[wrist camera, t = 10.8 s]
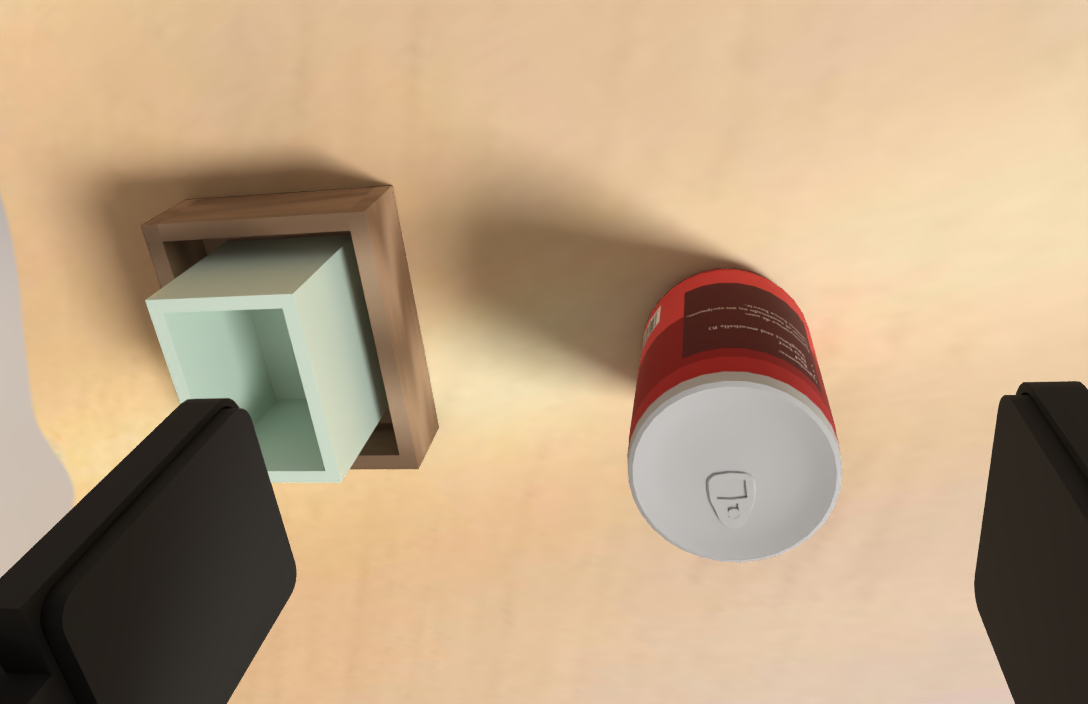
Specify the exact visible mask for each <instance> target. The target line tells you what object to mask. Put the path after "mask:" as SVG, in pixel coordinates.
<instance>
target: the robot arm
mask: <svg viewBox="0 0 1088 704" xmlns="http://www.w3.org/2000/svg"><path fill="white" fill-rule="evenodd" d="M295 582H296V565H295V561H294V557H293V554H292V551H291V548H290V544H289V541H288V538H287V534H286V531H285V528H284V524H283V521H282V518H281V514H280V511H279V508H278V505H277V501H276V498H275V495H274V491H273V488H272V485H271V481H270V478H269V475H268V471H267V468H266V465H265V462H264V458H263V455H262V452H261V448H260V445H259V442H258V438H257V435H256V432H255V429H254V425H253V422H252V419H251V417H250V414H249V413H248V412H247V411H246V410H245V409H243V408H239V406H238V405H237V404H236V402H235V401H234V400H232V399H230V398H206V399H187V400H186V401H184V402H182V403H181V404H180V405H179V406H178V407H177V408H176V409H175V410H174V411H173V412H172V413H171V414H170V415H169V416H168V417H167V418H166V419H165V420H164V421H163V422H162V423H161V424H160V425H158V426H157V427H156V428H155V429H154V430H153V431H152V432H151V433H150V434H149V435H148V436H147V437H146V438H145V439H144V440H143V441H142V442H141V443H140V444H139V445H138V446H137V447H136V448H135V449H134V450H133V451H132V452H131V453H129V454H128V455H127V456H126V457H125V458H124V459H123V460H122V461H121V462H120V463H119V464H118V465H117V466H116V467H115V468H114V469H113V470H112V471H111V472H110V473H109V474H108V475H107V476H106V477H105V478H104V479H103V480H102V481H101V482H99V483H98V484H97V485H96V486H95V487H94V488H93V489H92V490H91V491H90V492H89V493H88V494H87V495H86V496H85V497H84V498H83V499H82V500H81V501H80V502H79V503H78V504H77V505H76V506H75V507H74V508H73V509H72V510H70V511H69V512H68V513H67V514H66V515H65V516H64V517H63V518H62V519H61V520H60V521H59V522H58V523H57V524H56V525H55V526H54V527H53V528H52V529H51V530H50V531H49V532H48V533H47V534H46V535H45V536H44V537H43V538H42V539H41V540H39V541H38V542H37V543H36V544H35V545H34V546H33V548H31V549H30V550H29V551H28V552H27V553H26V554H25V555H24V556H23V557H22V558H21V559H20V560H19V561H18V562H17V563H16V564H15V565H14V566H13V567H12V568H11V569H9V570H8V571H7V572H6V573H5V574H4V575H3V576H2V577H1V578H0V704H227V702H228V701H229V699H230V697H231V696H232V694H233V692H234V690H235V689H236V687H237V685H238V684H239V682H240V680H241V679H242V677H243V675H244V673H245V672H246V670H247V668H248V667H249V665H250V663H251V662H252V660H253V658H254V657H255V655H256V653H257V651H258V650H259V648H260V646H261V645H262V643H263V641H264V640H265V638H266V636H267V635H268V633H269V631H270V629H271V628H272V626H273V624H274V623H275V621H276V619H277V618H278V616H279V614H280V612H281V611H282V609H283V607H284V606H285V604H286V602H287V601H288V599H289V597H290V596H291V594H292V592H293V589H294V586H295ZM974 587H975V598H976V603H977V607H978V610H979V613H980V616H981V618H982V621H983V623H984V626H985V629H986V631H987V634H988V636H989V639H990V641H991V644H992V646H993V649H994V651H995V654H996V656H997V659H998V661H999V664H1000V666H1001V669H1002V672H1003V674H1004V677H1005V679H1006V682H1007V684H1008V687H1009V689H1010V692H1011V694H1012V697H1013V699H1014V702H1015V704H1088V389H1087V388H1086V387H1085V386H1084V385H1083V384H1082V383H1081V382H1076V381H1068V382H1023V383H1022V384H1021V385H1020V386H1019V388H1018V390H1017V393H1016V395H1004V396H1003V397H1002V398H1001V400H1000V403H999V407H998V413H997V421H996V428H995V435H994V442H993V449H992V456H991V464H990V471H989V478H988V485H987V492H986V500H985V507H984V514H983V521H982V528H981V535H980V543H979V550H978V557H977V564H976V571H975V581H974Z"/></svg>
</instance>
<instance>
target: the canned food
mask: <svg viewBox="0 0 1088 704" xmlns="http://www.w3.org/2000/svg"><path fill="white" fill-rule="evenodd" d="M627 457H628V476H629V484H630V488H631V492H632V496H633V499H634V501H635V503H636V505H637V507H638V509H639V511H640V513H641V514H642V516H643V517H644V518H645V519H646V521H647V522H648V523H649V524H650V526H651V527H652V528H653V529H654V530H655V531H656V532H657V533H659V534H660V535H661V536H662V537H663V538H664V539H666V540H667V541H668V542H670V543H672V544H673V545H675V546H677V547H679V548H680V549H682V550H684V551H686V552H689V553H692V554H694V555H697V556H699V557H703V558H707V559H712V560H717V561H724V562H748V561H757V560H763V559H766V558H770V557H774V556H777V555H780V554H782V553H784V552H786V551H789V550H791V549H793V548H795V547H797V546H798V545H800V544H801V543H803V542H804V541H805V540H807V539H808V538H810V537H811V536H812V535H813V534H814V533H815V532H816V531H817V530H818V529H819V528H820V527H821V526H822V525H823V524H824V523H825V521H826V520H827V518H828V516H829V515H830V513H831V511H832V510H833V508H834V506H835V503H836V500H837V498H838V495H839V492H840V487H841V476H842V468H841V463H842V462H841V455H840V448H839V442H838V438H837V435H836V429H835V424H834V421H833V417H832V413H831V410H830V406H829V402H828V399H827V395H826V391H825V387H824V384H823V380H822V376H821V373H820V369H819V365H818V361H817V358H816V354H815V350H814V347H813V343H812V339H811V336H810V332H809V328H808V326H807V323H806V320H805V318H804V315H803V313H802V312H801V310H800V309H799V307H798V306H797V304H796V303H795V301H794V300H793V299H792V298H791V297H790V296H789V295H788V294H787V293H786V292H785V291H784V290H783V289H782V288H780V287H779V286H777V285H776V284H774V283H773V282H771V281H769V280H768V279H766V278H765V277H762V276H760V275H757V274H755V273H752V272H749V271H744V270H739V269H714V270H709V271H704V272H701V273H698V274H696V275H693V276H691V277H688V278H687V279H685V280H684V281H682V282H681V283H679V284H677V285H676V286H675V287H673V288H672V289H671V290H670V291H669V292H668V293H667V294H666V295H665V296H664V297H663V298H662V299H661V300H660V301H659V302H658V304H657V305H656V307H655V308H654V310H653V311H652V313H651V315H650V317H649V319H648V322H647V324H646V327H645V331H644V336H643V342H642V349H641V356H640V363H639V370H638V378H637V385H636V392H635V399H634V406H633V414H632V421H631V428H630V435H629V447H628V455H627Z"/></svg>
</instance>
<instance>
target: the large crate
mask: <svg viewBox="0 0 1088 704" xmlns="http://www.w3.org/2000/svg"><path fill="white" fill-rule="evenodd" d="M141 228H142V231H143V234H144V237H145V240H146V243H147V246H148V249H149V252H150V255H151V258H152V261H153V264H154V267H155V270H156V273H157V276H158V279H159V282H160V285H161V288H163V287H164V286H165V285H167V284H168V283H170V282H171V281H172V280H174V279H175V278H177V277H178V276H179V275H181V274H182V273H184V272H185V271H186V270H188V269H189V268H191V267H192V266H193V265H195V264H196V263H198V262H199V261H200V260H202V259H203V258H205V257H206V256H207V255H209V254H210V253H212V252H213V251H214V250H216V249H217V248H218V247H220V246H221V245H223V244H224V243H225V242H227V241H244V240H262V239H280V238H298V237H316V236H334V235H351V236H352V241H353V245H354V250H355V254H356V259H357V263H358V268H359V273H360V277H361V282H362V286H363V291H364V295H365V300H366V304H367V309H368V314H369V318H370V323H371V327H372V332H373V336H374V341H375V345H376V350H377V355H378V359H379V364H380V368H381V373H382V377H383V382H384V386H385V391H386V396H387V400H388V405H389V406H388V408H387V409H386V411H385V413H384V414H383V416H382V418H381V419H380V421H379V422H378V424H377V426H376V427H375V429H374V431H373V432H372V434H371V435H370V437H369V439H368V440H367V442H366V443H365V445H364V447H363V448H362V450H361V452H360V453H359V455H358V456H357V458H356V460H355V461H354V463H353V465H352V466H351V468H350V469H419V467H420V465H421V463H422V461H423V459H424V457H425V455H426V453H427V451H428V449H429V447H430V445H431V443H432V441H433V439H434V437H435V434H436V432H437V430H438V428H439V426H438V420H437V415H436V410H435V405H434V400H433V394H432V389H431V384H430V379H429V374H428V368H427V363H426V358H425V353H424V348H423V342H422V337H421V332H420V327H419V322H418V317H417V311H416V306H415V301H414V296H413V291H412V285H411V280H410V275H409V270H408V265H407V259H406V254H405V249H404V244H403V239H402V233H401V228H400V223H399V218H398V213H397V207H396V202H395V197H394V192H393V187H392V186H380V187H366V188H351V189H336V190H321V191H307V192H292V193H277V194H263V195H248V196H233V197H218V198H204V199H189V200H184V201H182V202H181V203H179V204H177V205H175V206H174V207H172V208H170V209H168V210H167V211H165V212H163V213H161V214H160V215H158V216H156V217H154V218H153V219H151V220H149V221H148V222H146V223H144V224H142V225H141Z"/></svg>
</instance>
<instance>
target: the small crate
mask: <svg viewBox="0 0 1088 704" xmlns="http://www.w3.org/2000/svg"><path fill="white" fill-rule="evenodd" d="M145 302H146V305H147V308H148V311H149V314H150V317H151V319H152V322H153V325H154V328H155V331H156V334H157V337H158V340H159V343H160V346H161V349H162V352H163V355H164V358H165V361H166V364H167V366H168V369H169V372H170V375H171V378H172V381H173V384H174V387H175V390H176V393H177V396H178V399H179V402H180V404H181V403H182V402H184V401H186V400H187V399H206V398H230V399H232V400H234V401H235V402H236V404H237V405H238V406H239V408H243V409H245V410H246V411H247V412H248V413H249V414H250V417H251V419H252V422H253V425H254V429H255V432H256V435H257V438H258V442H259V445H260V448H261V452H262V455H263V458H264V462H265V465H266V468H267V471H268V475H269V478H270V481H271V482H305V483H341V482H342V481H343V479H344V478H345V476H346V474H347V473H348V471H349V469H350V468H351V466H352V465H353V463H354V461H355V460H356V458H357V456H358V455H359V453H360V452H361V450H362V448H363V447H364V445H365V443H366V442H367V440H368V439H369V437H370V435H371V434H372V432H373V431H374V429H375V427H376V426H377V424H378V422H379V421H380V419H381V418H382V416H383V414H384V413H385V411H386V409H387V408H388V406H389V405H388V400H387V396H386V391H385V386H384V382H383V377H382V373H381V368H380V364H379V359H378V355H377V350H376V345H375V341H374V336H373V332H372V327H371V323H370V318H369V314H368V309H367V304H366V300H365V295H364V291H363V286H362V282H361V277H360V273H359V268H358V263H357V259H356V254H355V250H354V245H353V241H352V236H351V235H334V236H316V237H298V238H280V239H262V240H244V241H227V242H225V243H224V244H223V245H221V246H220V247H218V248H217V249H216V250H214V251H213V252H212V253H210V254H209V255H207V256H206V257H205V258H203V259H202V260H200V261H199V262H198V263H196V264H195V265H193V266H192V267H191V268H189V269H188V270H186V271H185V272H184V273H182V274H181V275H179V276H178V277H177V278H175V279H174V280H172V281H171V282H170V283H168V284H167V285H165V286H164V287H163V288H161V289H160V290H158V291H157V292H156V293H154V294H153V295H151V296H150V297H149V298H147V299H146V300H145Z"/></svg>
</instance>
